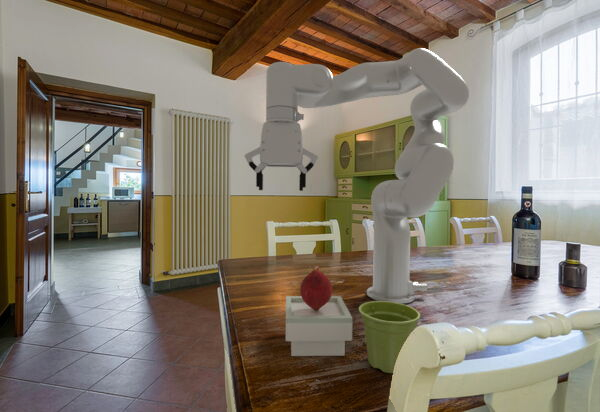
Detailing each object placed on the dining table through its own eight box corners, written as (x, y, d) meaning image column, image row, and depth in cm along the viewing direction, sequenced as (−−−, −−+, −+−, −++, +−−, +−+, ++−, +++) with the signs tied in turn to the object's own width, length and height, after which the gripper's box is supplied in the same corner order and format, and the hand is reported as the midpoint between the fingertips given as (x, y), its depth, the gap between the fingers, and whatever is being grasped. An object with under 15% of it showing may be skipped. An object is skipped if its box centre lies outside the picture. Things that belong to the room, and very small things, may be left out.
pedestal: (340, 329, 61) (340, 296, 61) (351, 358, 50) (352, 318, 50) (285, 329, 60) (286, 296, 60) (285, 359, 49) (285, 318, 49)
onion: (330, 317, 52) (330, 271, 51) (297, 314, 53) (297, 269, 52) (333, 305, 57) (333, 264, 57) (303, 303, 58) (303, 262, 58)
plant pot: (351, 349, 53) (352, 300, 53) (403, 348, 54) (404, 299, 53) (368, 382, 43) (369, 323, 43) (430, 379, 44) (431, 321, 44)
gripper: (316, 123, 76) (315, 191, 76) (247, 121, 75) (246, 190, 75) (319, 115, 68) (318, 190, 69) (243, 113, 67) (242, 189, 68)
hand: (281, 190), depth 72 cm, fingers open, 9 cm apart
